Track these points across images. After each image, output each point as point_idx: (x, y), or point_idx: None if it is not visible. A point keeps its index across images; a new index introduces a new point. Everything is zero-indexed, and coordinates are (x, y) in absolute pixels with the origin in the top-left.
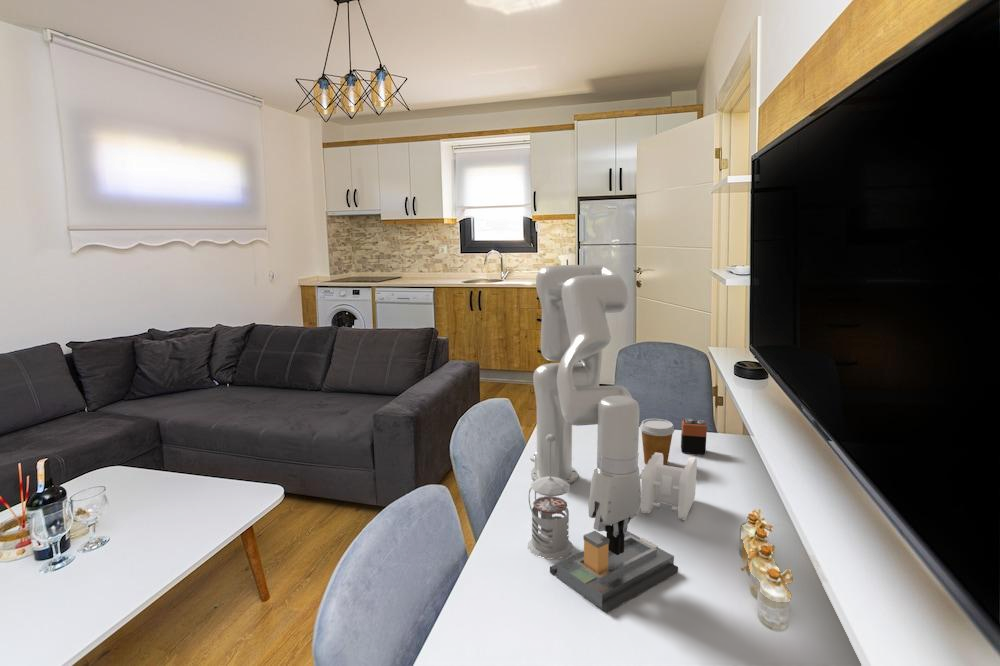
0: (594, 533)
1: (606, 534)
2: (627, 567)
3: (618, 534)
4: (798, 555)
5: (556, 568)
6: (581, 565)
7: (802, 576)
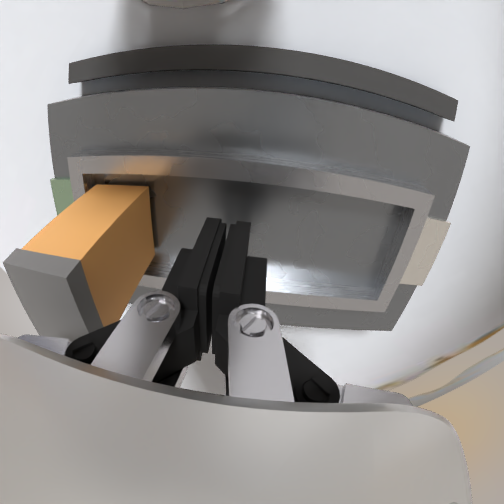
0: (52, 294)
1: (188, 261)
2: None
3: (213, 340)
4: (489, 369)
5: (78, 81)
6: (75, 195)
7: (443, 391)
